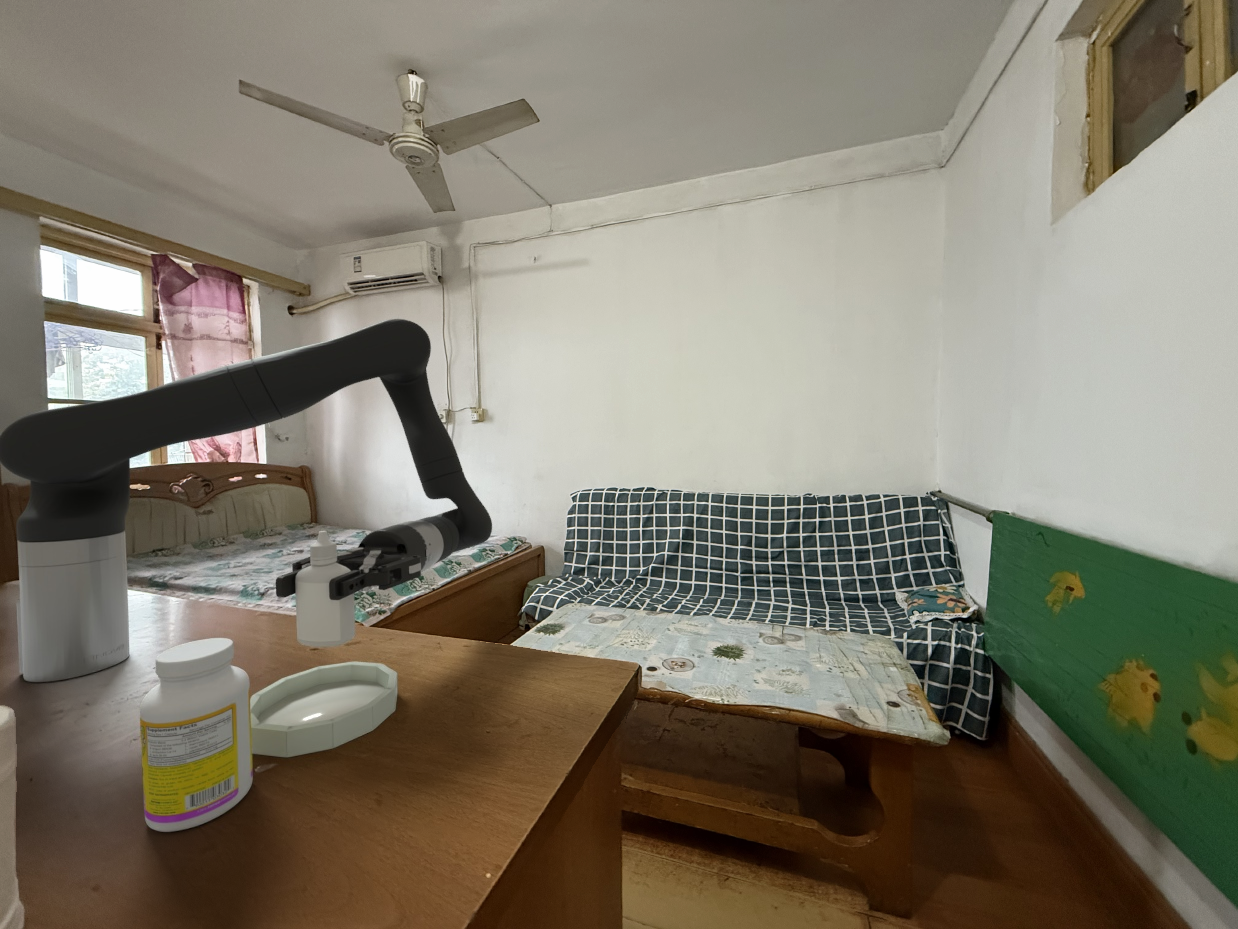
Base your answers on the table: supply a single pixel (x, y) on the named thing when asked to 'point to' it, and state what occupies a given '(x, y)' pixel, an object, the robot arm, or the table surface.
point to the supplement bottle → (195, 736)
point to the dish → (321, 708)
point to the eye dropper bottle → (322, 599)
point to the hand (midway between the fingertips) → (306, 589)
